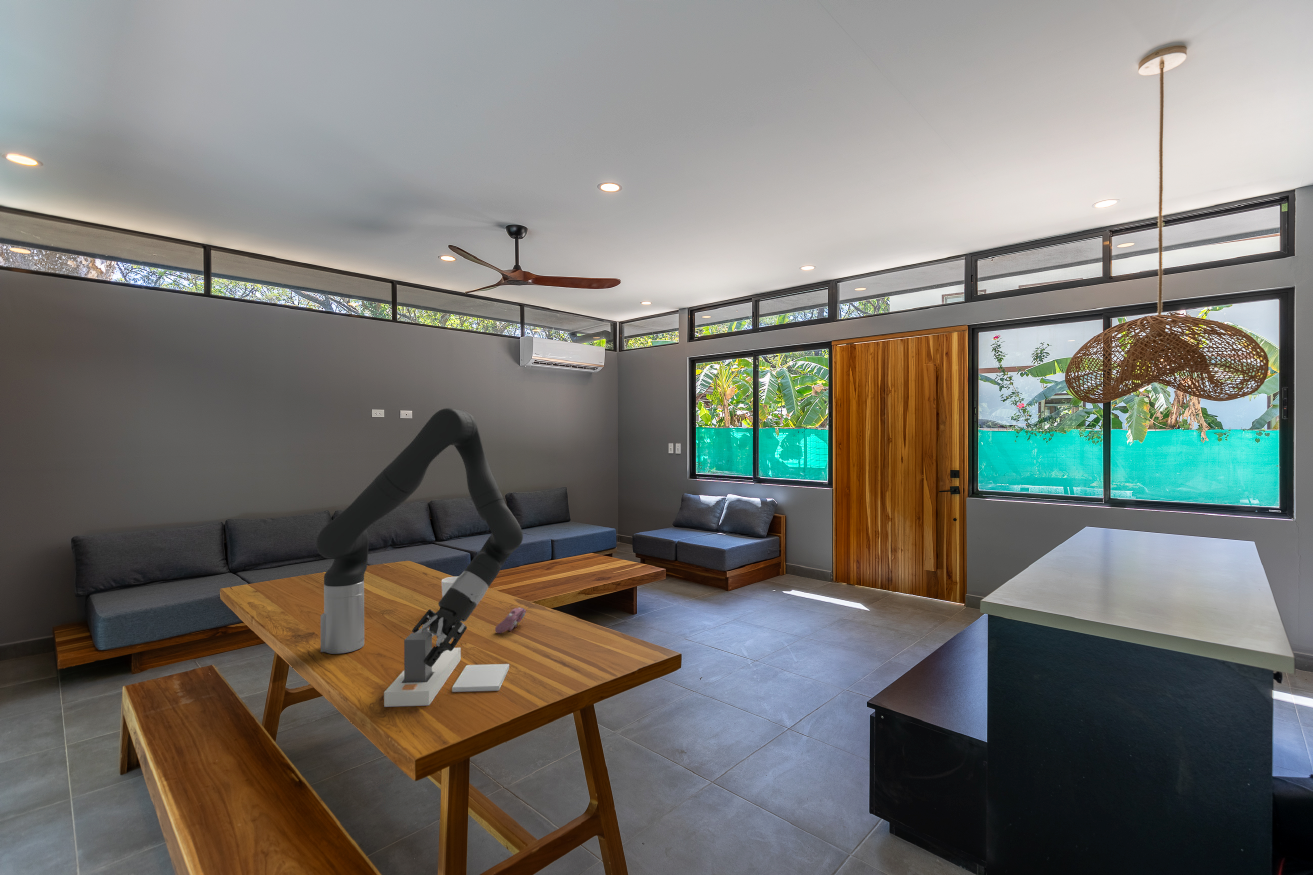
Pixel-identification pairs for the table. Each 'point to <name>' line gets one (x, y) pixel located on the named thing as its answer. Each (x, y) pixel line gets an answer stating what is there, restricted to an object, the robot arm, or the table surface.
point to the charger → (417, 657)
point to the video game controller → (511, 620)
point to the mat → (481, 678)
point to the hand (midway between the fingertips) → (417, 659)
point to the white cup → (447, 584)
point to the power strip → (422, 683)
